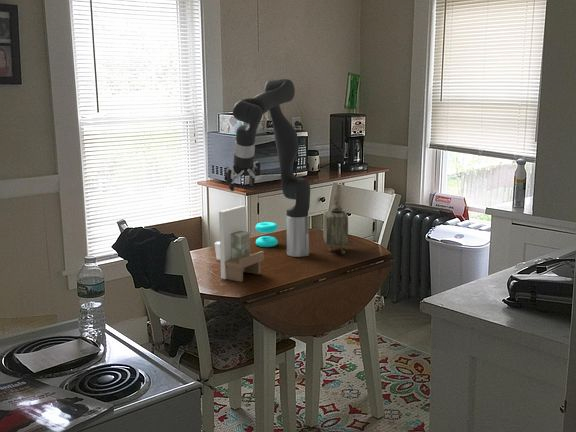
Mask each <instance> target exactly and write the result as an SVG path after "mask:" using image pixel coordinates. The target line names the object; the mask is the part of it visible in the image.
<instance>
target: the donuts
mask: <svg viewBox="0 0 576 432" xmlns="http://www.w3.org/2000/svg"><path fill="white" fill-rule="evenodd" d="M277 229H278V225H277V223H275V222H270V221H264V222H258V223H256V225H255V230H256V231H257V232H259V233H262V234H263V233H264V234H268V233H269V234H270V233H271V234H272V233H273V232H276V231H277ZM278 243H279V242H278V239H277V238H276V237H274V236H271V235H270V236H269V235H266V236H260V237H258V238H256V240H255V244H256V246H257V247H259V248H260V247H261V248H271V247H275V246H277V245H278Z"/></svg>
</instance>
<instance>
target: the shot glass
mask: <svg viewBox="0 0 576 432" xmlns="http://www.w3.org/2000/svg"><path fill="white" fill-rule="evenodd" d="M214 250H215V256H216V260H217V261H220V240H219V241H218V240H217V241H215V242H214Z"/></svg>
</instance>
